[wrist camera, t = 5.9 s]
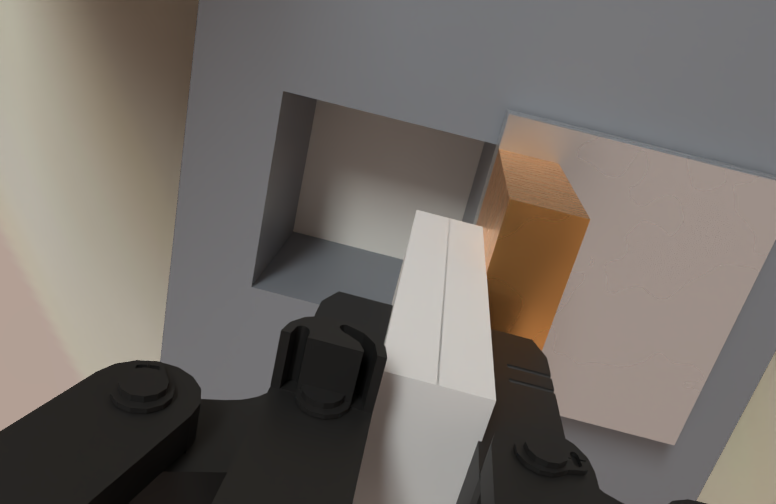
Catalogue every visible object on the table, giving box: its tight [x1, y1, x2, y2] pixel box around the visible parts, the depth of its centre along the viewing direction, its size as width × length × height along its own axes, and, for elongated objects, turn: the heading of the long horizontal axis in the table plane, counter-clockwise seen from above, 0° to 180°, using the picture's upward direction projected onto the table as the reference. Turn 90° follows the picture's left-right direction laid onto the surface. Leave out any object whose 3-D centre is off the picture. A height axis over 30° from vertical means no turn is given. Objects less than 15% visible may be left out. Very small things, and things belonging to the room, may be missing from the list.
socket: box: [160, 0, 776, 504], centre depth 19 cm, size 16×16×5 cm
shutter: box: [473, 109, 776, 445], centre depth 14 cm, size 7×7×5 cm
